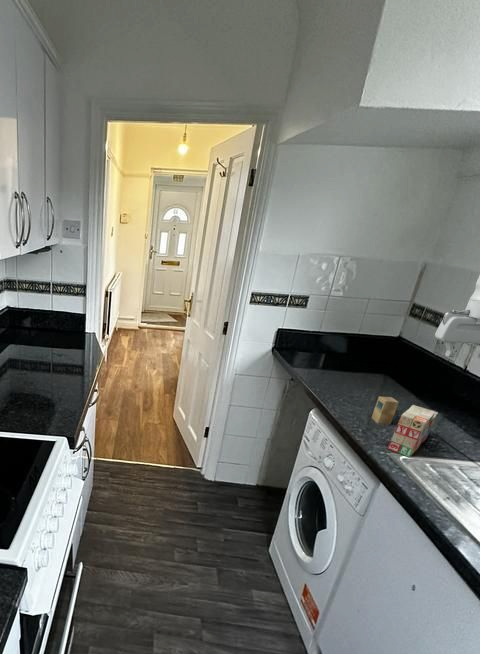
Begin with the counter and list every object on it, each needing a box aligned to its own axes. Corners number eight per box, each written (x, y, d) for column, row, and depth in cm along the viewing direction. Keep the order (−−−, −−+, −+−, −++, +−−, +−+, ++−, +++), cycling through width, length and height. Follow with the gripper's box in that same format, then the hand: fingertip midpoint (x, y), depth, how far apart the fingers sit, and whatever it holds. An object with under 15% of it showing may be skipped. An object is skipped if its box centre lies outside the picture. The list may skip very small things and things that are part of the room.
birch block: (383, 419, 150) (391, 397, 147) (390, 425, 146) (399, 402, 143) (370, 418, 151) (378, 396, 147) (377, 424, 147) (385, 401, 143)
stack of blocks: (406, 429, 143) (420, 397, 138) (427, 437, 139) (443, 404, 134) (386, 448, 130) (401, 414, 125) (409, 457, 126) (426, 422, 120)
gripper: (455, 311, 117) (436, 357, 123) (531, 316, 116) (509, 363, 121) (440, 307, 123) (422, 351, 128) (512, 311, 122) (492, 356, 127)
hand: (465, 357), depth 125 cm, fingers open, 8 cm apart
